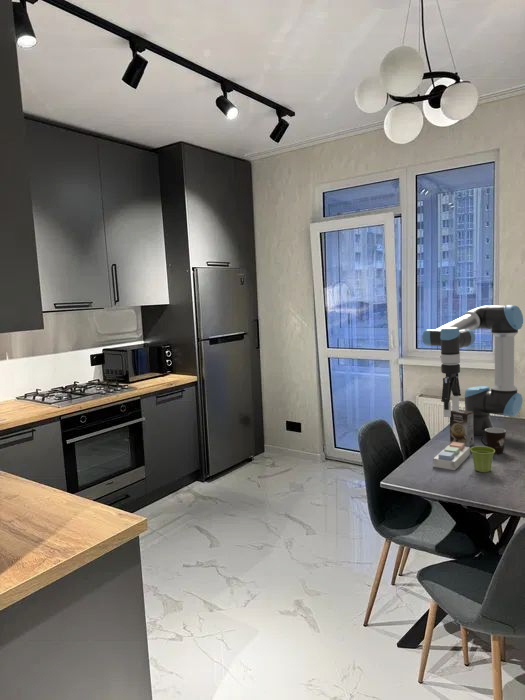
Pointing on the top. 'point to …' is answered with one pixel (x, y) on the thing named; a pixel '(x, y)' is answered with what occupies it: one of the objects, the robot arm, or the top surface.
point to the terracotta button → (457, 445)
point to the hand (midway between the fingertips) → (451, 413)
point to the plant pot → (482, 458)
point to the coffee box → (461, 427)
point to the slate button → (446, 456)
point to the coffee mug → (495, 439)
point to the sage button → (452, 450)
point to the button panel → (454, 462)
